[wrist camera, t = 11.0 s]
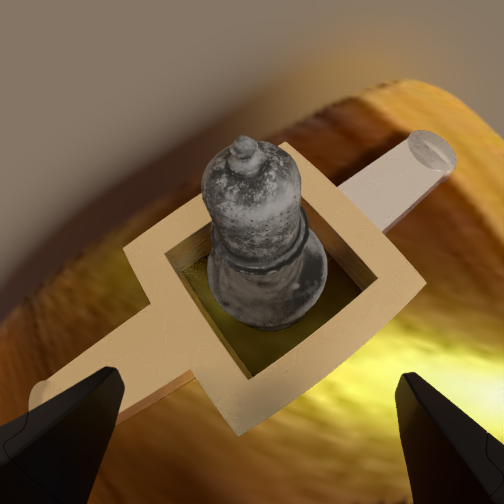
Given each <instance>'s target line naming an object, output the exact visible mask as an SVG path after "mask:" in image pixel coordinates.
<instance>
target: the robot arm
mask: <svg viewBox="0 0 504 504" xmlns="http://www.w3.org/2000/svg"><path fill="white" fill-rule="evenodd" d="M124 392H125V385H124V382H123V380H122V378H121V375H120V373H119V371H118V369H117V368H115V367H110V366H105V367H103V368H101V369H100V370H98V371H96V372H95V373H93V374H91V375H90V376H88V377H86V378H85V379H83V380H81V381H80V382H78V383H76V384H75V385H73V386H71V387H70V388H68V389H66V390H65V391H63V392H61V393H59V394H58V395H56V396H54V397H53V398H51V399H49V400H48V401H46V402H44V403H42V404H41V405H39V406H37V407H36V408H34V409H32V410H30V411H29V412H27V413H25V414H23V415H22V416H20V417H18V418H16V419H14V420H12V421H11V422H8V423H6V424H4V425H2V426H0V504H87V502H88V499H89V496H90V493H91V490H92V487H93V484H94V481H95V478H96V475H97V473H98V470H99V467H100V464H101V462H102V459H103V456H104V454H105V451H106V448H107V446H108V443H109V440H110V438H111V435H112V433H113V430H114V427H115V424H116V421H117V417H118V413H119V410H120V406H121V402H122V399H123V395H124ZM395 402H396V408H397V416H398V423H399V432H400V439H401V444H402V448H403V452H404V457H405V461H406V466H407V471H408V475H409V480H410V486H411V491H412V497H413V502H414V504H504V444H502V443H501V442H500V441H499V440H497V439H496V438H495V437H494V436H492V435H491V434H490V433H487V431H486V430H485V429H484V428H483V427H481V426H480V425H479V424H478V423H476V422H475V421H474V420H473V419H472V418H470V417H469V416H468V415H467V414H466V413H464V412H463V411H462V410H461V409H459V408H458V407H457V406H456V405H455V404H453V403H452V402H451V401H450V400H448V399H447V398H446V397H445V396H444V395H442V394H441V393H440V392H439V391H437V390H436V389H435V388H434V387H433V386H431V385H430V384H429V383H428V382H426V381H425V380H424V379H423V378H422V377H420V376H419V375H418V374H417V373H415V372H409V373H404V374H402V375H401V377H400V380H399V383H398V386H397V388H396V391H395Z"/></svg>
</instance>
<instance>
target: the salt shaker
mask: <svg viewBox="0 0 504 504" xmlns="http://www.w3.org/2000/svg"><path fill="white" fill-rule="evenodd" d="M201 191H202V199H203V202H204V204H205V206H206V208H207V210H208V212H209V215H210V217H211V219H212V225H211V232H210V235H211V242H212V246H213V247H212V249H211V252H210V254H209V257H208V264H207V278H208V285H209V288H210V290H211V292H212V294H213V297H214V299H215V300H216V302H217V303H218V304H219V305H220V306H221V307H222V309H223V310H224V311H225V312H226V313H228V314H229V315H231V316H232V317H234V318H235V319H237V320H238V321H241V322H244V323H245V324H247V325H248V326H250V327H253V328H256V329H259V330H263V331H276V330H280V329H285V328H287V327H289V326H291V325H293V324H295V323H297V322H298V321H299V320H300V319H301V318H302V317H303V316H304V315H305V314H306V313H307V311H308V310H309V309H310V308H311V307H312V306H313V305H314V304H315V303H316V301H317V300H318V298H319V296H320V295H321V293H322V291H323V289H324V285H325V282H326V278H327V258H326V254H325V251H324V248H323V245H322V244H321V242H320V240H319V239H318V237H317V236H316V234H315V233H314V232H313V231H312V230H311V229H310V228H309V220H308V217H307V214H306V212H305V210H304V209H303V207H302V206H301V204H300V203H301V175H300V172H299V169H298V167H297V164H296V162H295V160H294V159H293V158H292V157H291V155H290V154H289V153H287V152H286V151H284V150H283V149H281V148H280V147H278V146H276V145H274V144H271V143H268V142H263V141H255V140H253V139H251V138H249V137H247V136H245V135H240V136H239V137H238V138H237V139H236V140H235V141H234V142H233V143H232V144H231V146H229V147H226V148H225V149H223V150H222V151H220V152H219V153H218V154H217V155H216V156H215V157H214V158H213V159H212V160H211V161H210V163H209V164H208V165H207V167H206V169H205V171H204V173H203V176H202V181H201Z"/></svg>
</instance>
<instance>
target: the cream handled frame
mask: <svg viewBox="0 0 504 504" xmlns="http://www.w3.org/2000/svg"><path fill="white" fill-rule="evenodd" d="M456 162H457V160H456V155H455V153H454V151H453V149H452V147H451V146H450V145H449V144H448V143H447V142H446V141H445V140H444V139H443V138H441V137H440V136H438V135H437V134H435V133H432V132H429V131H425V130H417V131H414V132H412V133H411V134H410V135H409V137H408V138H407V139H406V140H405V141H403V142H402V143H400V144H399V145H397V146H396V147H394V148H393V149H392V150H390V151H389V152H387V153H386V154H384V155H383V156H381V157H380V158H378V159H377V160H376V161H374V162H373V163H371V164H370V165H368V166H367V167H365V168H364V169H363V170H361V171H360V172H358V173H357V174H355V175H354V176H352V177H351V178H350V179H348V180H347V181H345V182H344V183H342V184H341V185H340V186H338V187H337V188H338V189H339V190H340V191H341V192H342V193H343V194H344V195H345V196H346V197H347V198H348V199H349V200H351V201H352V202H353V203H354V204H355V205H356V206H357V207H358V208H359V209H360V210H361V211H362V212H363V213H364V214H365V215H366V216H367V217H368V218H369V220H370V221H371V222H372V223H373V224H374V225H375V226H376V227H377V228H378V229H379V230H380V231H381V232H382V233H383V234H385V233H387V232H388V231H389V230H390V229H391V228H392V227H393V226H394V225H396V224H397V223H398V222H399V221H400V220H401V219H402V218H403V217H404V216H406V215H407V214H408V213H409V212H410V211H411V210H412V209H413V208H414V207H415V206H416V205H418V204H419V203H420V202H421V201H422V200H423V199H424V198H425V197H426V196H427V195H428V194H429V193H430V192H431V191H432V190H433V189H435V188H436V187H437V186H438V185H439V184H441V183H443V182H445V181H446V180H447V179H448V178H449V176H450V174H451V173H452V171H453V170H454V168H455V166H456ZM308 220H309V228H310V229H311V230H312V231H313V232H314V233H315V234H316V236H317V237H318V239H319V240H320V242H321V244H322V245H323V248H324V249H325V250H326V251H327V252H328V253H329V254H330V255H331V256H332V258H333V259H334V260H335V261H336V262H337V263H338V264H339V266H340V267H341V268H342V269H343V270H344V271H345V272H346V274H347V275H348V276H349V277H350V278H351V279H352V280H353V282H354V283H355V284H356V285H357V286H358V287H359V289H360V290H361V291H362V292H363V291H364V290H366V289H367V288H368V287H369V284H368V283H367V282H366V281H365V280H364V279H363V277H362V276H361V275H360V274H359V273H358V272H357V271H356V269H355V268H354V267H353V266H352V265H351V264H350V263H349V261H348V260H347V259H346V258H345V257H344V256H343V255H342V254H341V252H340V251H339V250H338V249H337V248H336V247H335V246H334V245H333V244H332V243H331V241H330V240H329V239H328V238H327V237H326V236H325V235H324V234H323V233H322V232H321V231H320V230H319V228H318V227H317V226H316V225H315V224H314V223H313V222H312V221H311V220H310V219H309V218H308ZM212 247H213V246H212V242H211V238H209V239H208V240H207V241H205V242H204V243H202V244H201V245H199V246H198V247H196V248H195V249H194V250H192V251H191V252H189V253H188V254H186V255H185V256H184V257H182V258H181V259H179V260H178V261H177V262H175V263H174V265H175V267H176V269H177V270H178V272H179V273H180V275H181V277H182V278H183V280H184V281H185V283H186V285H187V286H188V288H189V289H190V291H191V292H192V294H193V295H194V297H195V299H196V300H197V302H198V303H199V305H200V306H201V308H202V309H203V311H204V312H205V314H206V315H207V317H208V318H209V320H210V321H211V323H212V324H213V326H214V327H215V329H216V330H217V332H218V333H219V334H220V336H221V337H222V339H223V340H224V342H225V343H226V345H227V346H228V347H229V349H230V350H231V352H232V353H233V354H234V356H235V357H236V359H237V360H238V361H239V363H240V364H241V366H242V367H243V368H244V370H245V371H246V372H247V374H248V375H249V377H250V378H253V376H252V375H251V373H250V372H249V370H248V369H247V368H246V366H245V365H244V364H243V362H242V361H241V359H240V358H239V357H238V355H237V354H236V353H235V351H234V350H233V348H232V347H231V345H230V344H229V343H228V341H227V340H226V338H225V337H224V335H223V334H222V333H221V331H220V330H219V328H218V327H217V325H216V324H215V322H214V321H213V319H212V318H211V316H210V315H209V314H208V312H207V311H206V309H205V308H204V306H203V305H202V303H201V301H200V300H199V298H198V297H197V295H196V294H195V292H194V291H193V289H192V288H191V286H190V285H189V283H188V281H187V280H186V278H185V277H184V275H183V274H182V272H183V271H184V270H186V269H187V268H188V267H190V266H191V265H193V264H194V263H195V262H197V261H198V260H200V259H201V258H203V257H204V256H205V255H207V254H208V253H210V252H211V249H212Z"/></svg>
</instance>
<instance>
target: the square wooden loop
mask: <svg viewBox="0 0 504 504" xmlns="http://www.w3.org/2000/svg"><path fill="white" fill-rule="evenodd" d="M278 147H280V148H281V149H283V150H284V151H286V152H287V153H289V154H290V155H291V157H292V158H293V159H294V160H295V162H296V164H297V167H298V169H299V172H300V175H301V203H300V204H301V206H302V207H303V209H304V210H305V212H306V214H307V217H308V218H309V219H310V220H311V221H312V222H313V223H314V224H315V225H316V226H317V227H318V228H319V230H320V231H321V232H322V233H323V234H324V235H325V236H326V237H327V238H328V239H329V240H330V241H331V243H332V244H333V245H334V246H335V247H336V248H337V249H338V250H339V251H340V252H341V254H342V255H343V256H344V257H345V258H346V259H347V260H348V261H349V263H350V264H351V265H352V266H353V267H354V268H355V269H356V271H357V272H358V273H359V274H360V275H361V276H362V277H363V279H364V280H365V281H366V282H367V283H368V284H369V287H368V288H367V289H366V290H364V291H363V292H362V293H361V294H360V295H359V296H358V297H356V298H355V299H354V300H353V301H352V302H351V303H349V304H348V305H347V306H346V307H345V308H344V309H342V310H341V311H340V312H339V313H338V314H336V315H335V316H334V317H333V318H331V319H330V320H329V321H328V322H326V323H325V324H324V325H323V326H321V327H320V328H319V329H318V330H316V331H315V332H314V333H313V334H311V335H310V336H309V337H307V338H306V339H305V340H304V341H302V342H301V343H300V344H298V345H297V346H296V347H294V348H293V349H292V350H290V351H289V352H288V353H286V354H285V355H284V356H282V357H281V358H280V359H278V360H277V361H275V362H274V363H273V364H271V365H270V366H268V367H267V368H266V369H264V370H263V371H261V372H260V373H258V374H257V375H256V376H254V377H253V378H250V377H249V375H248V374H247V372H246V371H245V370H244V368H243V367H242V366H241V364H240V363H239V361H238V360H237V359H236V357H235V356H234V354H233V353H232V352H231V350H230V349H229V347H228V346H227V345H226V343H225V342H224V340H223V339H222V337H221V336H220V334H219V333H218V332H217V330H216V329H215V327H214V326H213V324H212V323H211V321H210V320H209V318H208V317H207V315H206V314H205V312H204V311H203V309H202V308H201V306H200V305H199V303H198V302H197V300H196V299H195V297H194V295H193V294H192V292H191V291H190V289H189V288H188V286H187V285H186V283H185V281H184V280H183V278H182V277H181V275H180V273H179V272H178V270H177V269H176V267H175V265H174V263H175V262H177V261H178V260H179V259H181V258H182V257H184V256H185V255H186V254H188V253H189V252H191V251H192V250H194V249H195V248H196V247H198V246H199V245H201V244H202V243H204V242H205V241H207V240H208V239H209V238H211V235H210V232H211V225H212V219H211V217H210V215H209V212H208V210H207V208H206V206H205V204H204V202H203V199H202V193H201V194H199V195H198V196H196V197H195V198H193V199H192V200H190V201H189V202H187V203H186V204H184V205H183V206H181V207H180V208H178V209H177V210H176V211H174V212H173V213H171V214H170V215H168V216H167V217H165V218H164V219H163V220H161V221H160V222H158V223H157V224H155V225H154V226H153V227H151V228H150V229H148V230H147V231H146V232H144V233H143V234H142V235H140V236H139V237H137V238H136V239H135V240H133V241H132V242H131V243H129V244H128V245H127V246H125V247H124V248H123V250H124V252H125V254H126V256H127V258H128V260H129V263H130V265H131V267H132V269H133V271H134V272H135V274H136V276H137V278H138V280H139V282H140V284H141V286H142V288H143V290H144V292H145V294H146V295H147V297H148V299H149V301H150V303H151V304H150V305H148V306H147V307H145V308H144V309H143V310H141V311H140V312H138V313H137V314H136V315H134V316H133V317H131V318H130V319H129V320H127V321H126V322H125V323H123V324H122V325H120V326H119V327H118V328H116V329H115V330H113V331H112V332H111V333H109V334H108V335H107V336H105V337H104V338H102V339H101V340H100V341H98V342H97V343H96V344H94V345H93V346H92V347H90V348H89V349H87V350H86V351H85V352H83V353H82V354H81V355H79V356H78V357H77V358H75V359H74V360H73V361H71V362H70V363H68V364H67V365H66V366H64V367H63V368H62V369H60V370H59V371H58V372H56V373H55V374H54V375H52V376H51V377H50V378H48V379H47V380H46V381H41V382H38V383H37V384H36V385H35V386H34V387H33V389H32V391H31V393H30V397H29V411H30V410H32V409H34V408H36V407H37V406H39V405H41V404H42V403H44V402H46V401H48V400H49V399H51V398H53V397H54V396H56V395H58V394H59V393H61V392H63V391H65V390H66V389H68V388H70V387H71V386H73V385H75V384H76V383H78V382H80V381H81V380H83V379H85V378H86V377H88V376H90V375H91V374H93V373H95V372H96V371H98V370H100V369H101V368H103V367H105V366H110V367H115V368H117V369H118V371H119V373H120V375H121V378H122V380H123V382H124V385H125V392H124V395H123V399H122V402H121V406H120V410H119V413H118V417H117V421H116V424H115V426H116V425H118V424H119V423H121V422H123V421H125V420H126V419H128V418H130V417H132V416H133V415H135V414H137V413H138V412H140V411H142V410H144V409H145V408H147V407H149V406H150V405H152V404H154V403H155V402H157V401H159V400H160V399H162V398H163V397H165V396H167V395H168V394H170V393H172V392H173V391H175V390H176V389H178V388H180V387H181V386H183V385H184V384H186V383H187V382H189V381H190V380H192V379H194V378H195V377H196V379H197V380H198V382H199V383H200V385H201V386H202V388H203V389H204V391H205V392H206V393H207V395H208V396H209V398H210V399H211V401H212V402H213V404H214V405H215V406H216V408H217V409H218V411H219V412H220V413H221V415H222V416H223V417H224V419H225V420H226V421H227V423H228V424H229V425H230V427H231V428H232V429H233V431H234V432H235V433H236V435H237V436H240V435H242V434H243V433H245V432H247V431H248V430H250V429H251V428H253V427H255V426H256V425H258V424H259V423H261V422H263V421H264V420H266V419H267V418H269V417H270V416H272V415H273V414H275V413H276V412H278V411H279V410H281V409H282V408H283V407H285V406H286V405H288V404H289V403H291V402H292V401H293V400H295V399H296V398H298V397H299V396H300V395H302V394H303V393H305V392H306V391H307V390H309V389H310V388H311V387H313V386H314V385H315V384H317V383H318V382H319V381H320V380H322V379H323V378H324V377H326V376H327V375H328V374H329V373H331V372H332V371H333V370H334V369H336V368H337V367H338V366H339V365H341V364H342V363H343V362H344V361H345V360H347V359H348V358H349V357H350V356H351V355H353V354H354V353H355V352H356V351H357V350H358V349H359V348H361V347H362V346H363V345H364V344H365V343H366V342H367V341H369V340H370V339H371V338H372V337H373V336H374V335H375V334H376V333H377V332H378V331H380V330H381V329H382V328H383V327H384V326H385V325H386V324H387V323H388V322H389V321H390V320H391V319H392V318H393V317H394V316H395V315H396V314H397V313H398V312H399V311H400V310H401V309H402V308H403V307H404V306H405V305H406V304H407V303H408V302H409V301H410V300H411V299H412V298H413V297H414V296H415V295H416V294H417V293H418V292H419V291H420V290H421V289H422V288H423V287H424V286H425V284H426V282H425V280H424V279H423V278H422V277H421V276H420V274H419V273H418V272H417V271H416V270H415V269H414V267H413V266H412V265H411V264H410V263H409V262H408V261H407V259H406V258H405V257H404V256H403V255H402V254H401V253H400V252H399V250H398V249H397V248H396V247H395V246H394V245H393V244H392V243H391V242H390V241H389V239H388V238H387V237H386V236H385V235H384V234H383V233H382V232H381V231H380V230H379V229H378V228H377V227H376V226H375V225H374V224H373V223H372V222H371V221H370V220H369V218H368V217H367V216H366V215H365V214H364V213H363V212H362V211H361V210H360V209H359V208H358V207H357V206H356V205H355V204H354V203H353V202H352V201H351V200H349V199H348V198H347V197H346V196H345V195H344V194H343V193H342V192H341V191H340V190H339V189H338V188H337V187H336V186H335V185H334V184H333V183H332V182H331V181H330V180H328V179H327V178H326V177H325V176H324V175H323V174H322V173H321V172H320V171H319V170H318V169H316V168H315V167H314V166H313V165H312V164H311V163H310V162H309V161H307V160H306V159H305V158H304V157H303V156H302V155H301V154H299V153H298V152H297V151H296V150H295V149H294V148H293V147H291V146H290V145H289V144H288V143H287V142H284V143H282V144H281V145H279V146H278Z"/></svg>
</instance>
